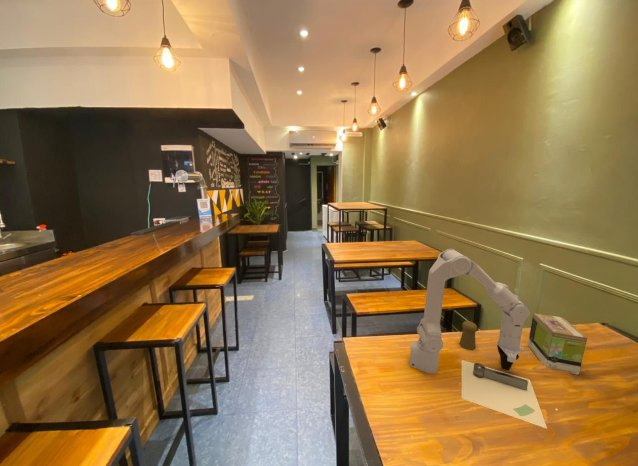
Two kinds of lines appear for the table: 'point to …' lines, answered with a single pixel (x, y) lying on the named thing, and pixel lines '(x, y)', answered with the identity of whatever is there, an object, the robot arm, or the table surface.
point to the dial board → (501, 396)
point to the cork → (468, 335)
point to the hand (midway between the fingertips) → (504, 368)
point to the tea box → (557, 343)
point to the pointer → (499, 376)
